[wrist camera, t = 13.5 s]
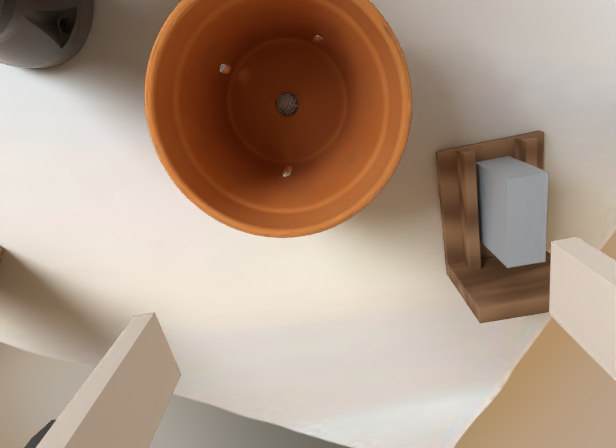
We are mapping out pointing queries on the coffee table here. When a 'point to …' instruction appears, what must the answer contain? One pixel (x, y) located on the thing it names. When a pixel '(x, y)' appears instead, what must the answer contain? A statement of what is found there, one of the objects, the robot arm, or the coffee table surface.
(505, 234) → the blue-gray rectangular block
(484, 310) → the track
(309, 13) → the flower pot
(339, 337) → the coffee table surface
